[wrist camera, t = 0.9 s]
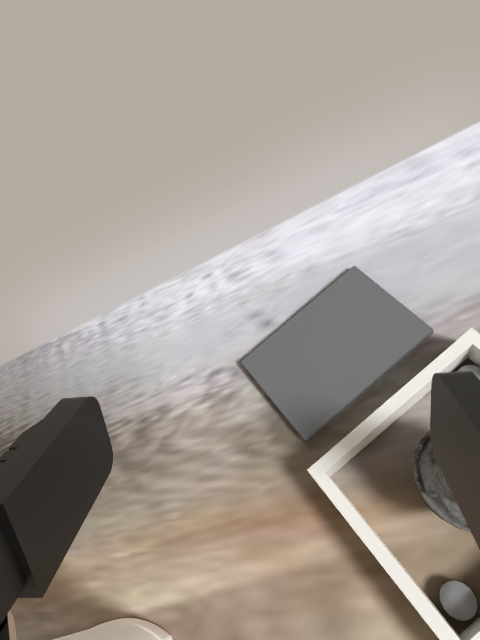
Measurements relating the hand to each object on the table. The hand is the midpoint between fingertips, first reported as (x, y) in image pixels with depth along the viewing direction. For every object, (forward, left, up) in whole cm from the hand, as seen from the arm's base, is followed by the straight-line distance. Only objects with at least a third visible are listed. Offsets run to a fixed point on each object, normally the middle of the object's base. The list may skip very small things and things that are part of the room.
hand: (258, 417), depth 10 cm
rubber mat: (-6, -8, -21) cm, 23 cm away
